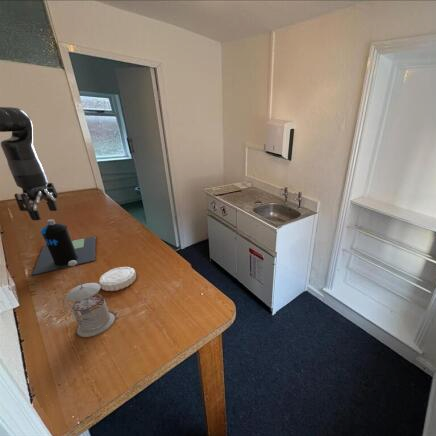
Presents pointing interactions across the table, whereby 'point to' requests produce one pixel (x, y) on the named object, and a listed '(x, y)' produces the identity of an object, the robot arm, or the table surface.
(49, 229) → the aerosol can
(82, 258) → the board
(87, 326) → the french press
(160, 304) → the table surface
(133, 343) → the table surface
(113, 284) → the mooncake
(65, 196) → the table surface
